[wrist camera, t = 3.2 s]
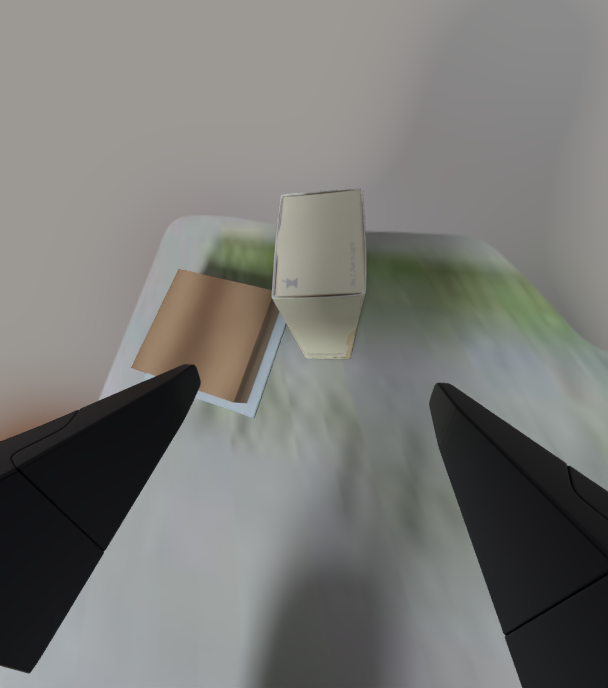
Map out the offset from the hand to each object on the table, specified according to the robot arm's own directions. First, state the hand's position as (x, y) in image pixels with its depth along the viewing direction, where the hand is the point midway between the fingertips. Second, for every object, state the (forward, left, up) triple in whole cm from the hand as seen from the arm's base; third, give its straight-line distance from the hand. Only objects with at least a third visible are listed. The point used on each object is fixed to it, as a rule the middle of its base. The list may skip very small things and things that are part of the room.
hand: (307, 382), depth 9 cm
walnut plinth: (+11, -3, -12) cm, 17 cm away
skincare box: (+1, -7, -13) cm, 14 cm away
